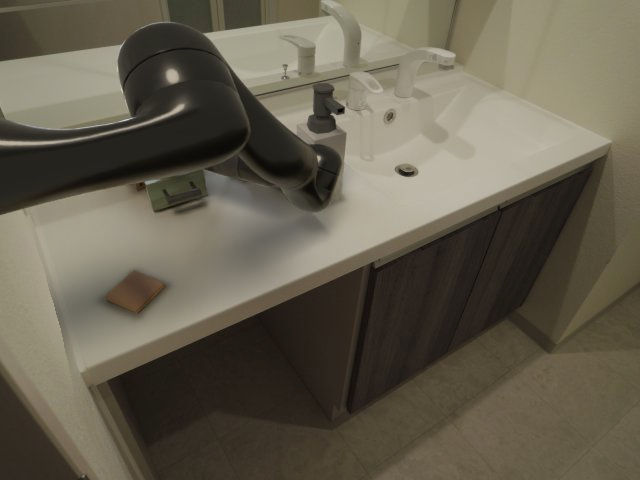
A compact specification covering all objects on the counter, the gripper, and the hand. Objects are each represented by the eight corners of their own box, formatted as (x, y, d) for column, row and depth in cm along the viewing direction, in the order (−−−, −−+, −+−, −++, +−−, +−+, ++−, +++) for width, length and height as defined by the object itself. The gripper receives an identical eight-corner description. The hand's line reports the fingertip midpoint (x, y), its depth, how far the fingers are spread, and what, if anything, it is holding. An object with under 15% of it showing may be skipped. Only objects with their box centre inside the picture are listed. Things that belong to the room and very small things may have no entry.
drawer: (216, 205, 78) (211, 179, 74) (160, 223, 74) (153, 197, 70) (185, 164, 88) (180, 139, 84) (134, 178, 84) (127, 152, 80)
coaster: (137, 314, 60) (136, 310, 59) (106, 299, 62) (104, 296, 61) (165, 286, 64) (164, 282, 64) (135, 273, 66) (133, 270, 65)
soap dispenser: (318, 215, 79) (324, 103, 64) (296, 191, 84) (296, 82, 70) (347, 205, 81) (358, 95, 67) (323, 182, 87) (329, 76, 72)
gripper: (247, 115, 72) (167, 95, 77) (196, 152, 63) (109, 126, 67) (250, 153, 77) (175, 132, 82) (203, 192, 68) (122, 166, 72)
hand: (146, 129), depth 75 cm, fingers closed on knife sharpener, 4 cm apart
